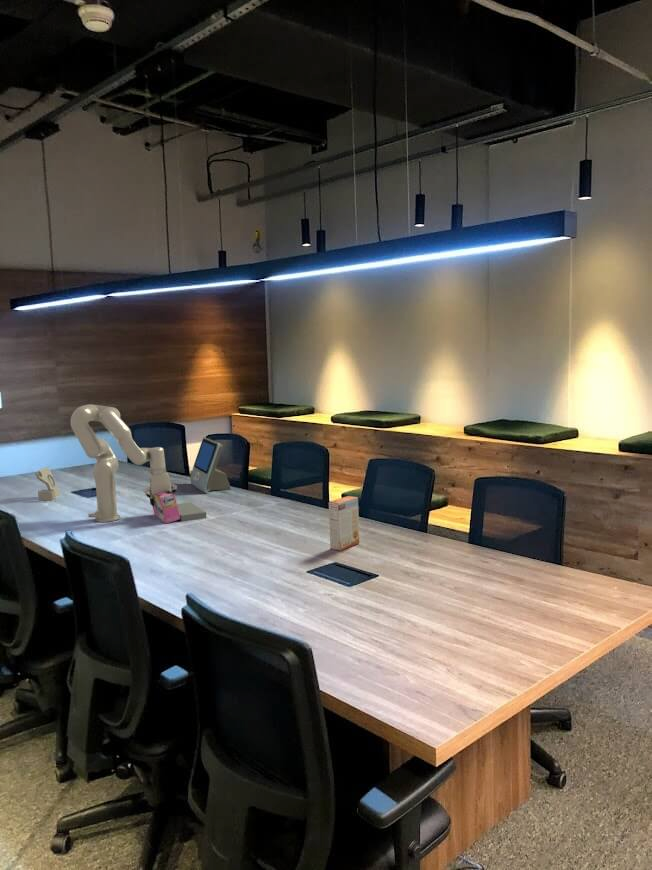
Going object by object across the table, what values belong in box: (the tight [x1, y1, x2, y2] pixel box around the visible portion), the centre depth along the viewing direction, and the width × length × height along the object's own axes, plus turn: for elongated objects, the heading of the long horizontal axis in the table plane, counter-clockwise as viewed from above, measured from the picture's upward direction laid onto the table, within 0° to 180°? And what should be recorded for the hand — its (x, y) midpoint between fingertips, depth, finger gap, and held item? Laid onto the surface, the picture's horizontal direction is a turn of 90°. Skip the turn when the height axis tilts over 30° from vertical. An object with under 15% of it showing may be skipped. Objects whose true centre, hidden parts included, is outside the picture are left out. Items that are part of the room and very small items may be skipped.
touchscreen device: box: [189, 437, 232, 494], centre depth 443 cm, size 35×20×30 cm, turn 25°
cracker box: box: [328, 495, 360, 552], centre depth 309 cm, size 14×6×21 cm, turn 141°
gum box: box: [148, 490, 180, 524], centre depth 367 cm, size 24×8×14 cm, turn 28°
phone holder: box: [35, 467, 62, 501], centre depth 422 cm, size 17×10×18 cm, turn 179°
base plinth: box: [177, 501, 207, 522], centre depth 375 cm, size 13×27×3 cm, turn 28°
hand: (162, 504), depth 368 cm, fingers open, 9 cm apart
